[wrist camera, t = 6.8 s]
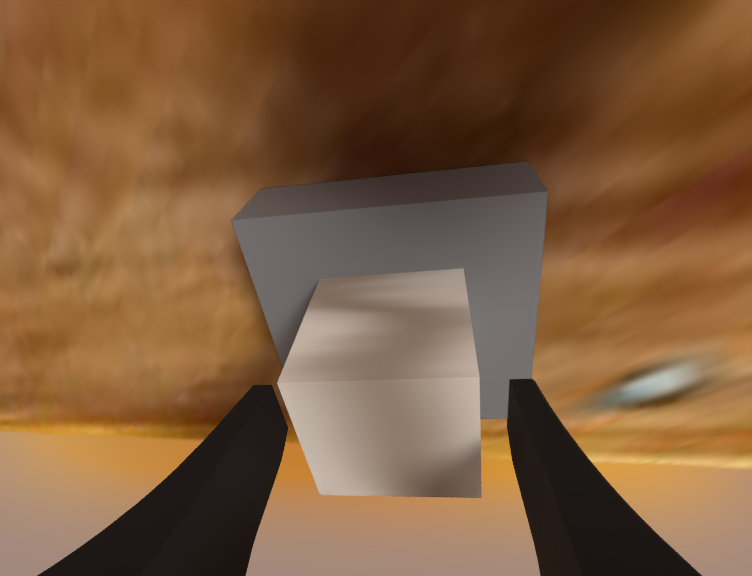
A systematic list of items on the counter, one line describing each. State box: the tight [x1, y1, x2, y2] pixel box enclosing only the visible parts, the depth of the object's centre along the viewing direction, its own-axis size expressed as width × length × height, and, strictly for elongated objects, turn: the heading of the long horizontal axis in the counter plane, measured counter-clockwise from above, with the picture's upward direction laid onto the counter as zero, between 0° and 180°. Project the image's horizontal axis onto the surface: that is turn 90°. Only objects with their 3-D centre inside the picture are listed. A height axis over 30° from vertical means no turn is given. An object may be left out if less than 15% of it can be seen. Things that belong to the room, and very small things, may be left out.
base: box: [231, 161, 548, 419], centre depth 17 cm, size 10×10×3 cm
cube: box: [277, 268, 481, 498], centre depth 13 cm, size 5×5×5 cm
